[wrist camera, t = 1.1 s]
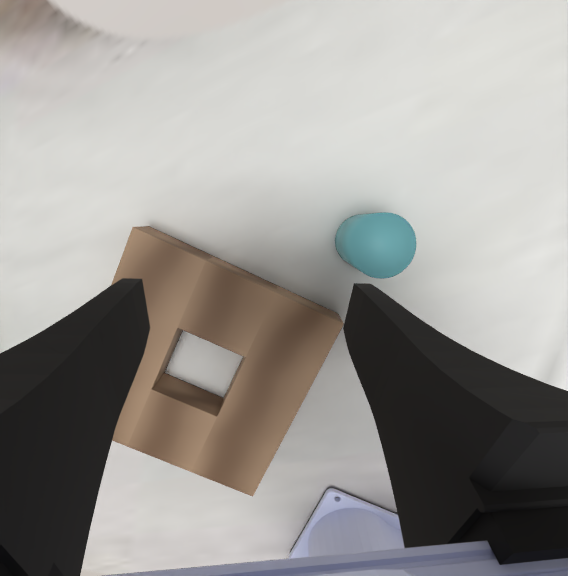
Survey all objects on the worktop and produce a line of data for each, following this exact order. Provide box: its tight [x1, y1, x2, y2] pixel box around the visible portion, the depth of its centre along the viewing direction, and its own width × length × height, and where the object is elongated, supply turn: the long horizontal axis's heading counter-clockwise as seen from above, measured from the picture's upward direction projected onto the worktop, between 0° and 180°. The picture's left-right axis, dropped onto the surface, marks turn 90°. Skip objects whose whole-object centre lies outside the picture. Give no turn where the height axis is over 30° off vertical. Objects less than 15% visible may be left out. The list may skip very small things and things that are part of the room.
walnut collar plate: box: [112, 226, 344, 496], centre depth 24 cm, size 15×15×2 cm
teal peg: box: [335, 213, 416, 278], centre depth 21 cm, size 4×4×6 cm
